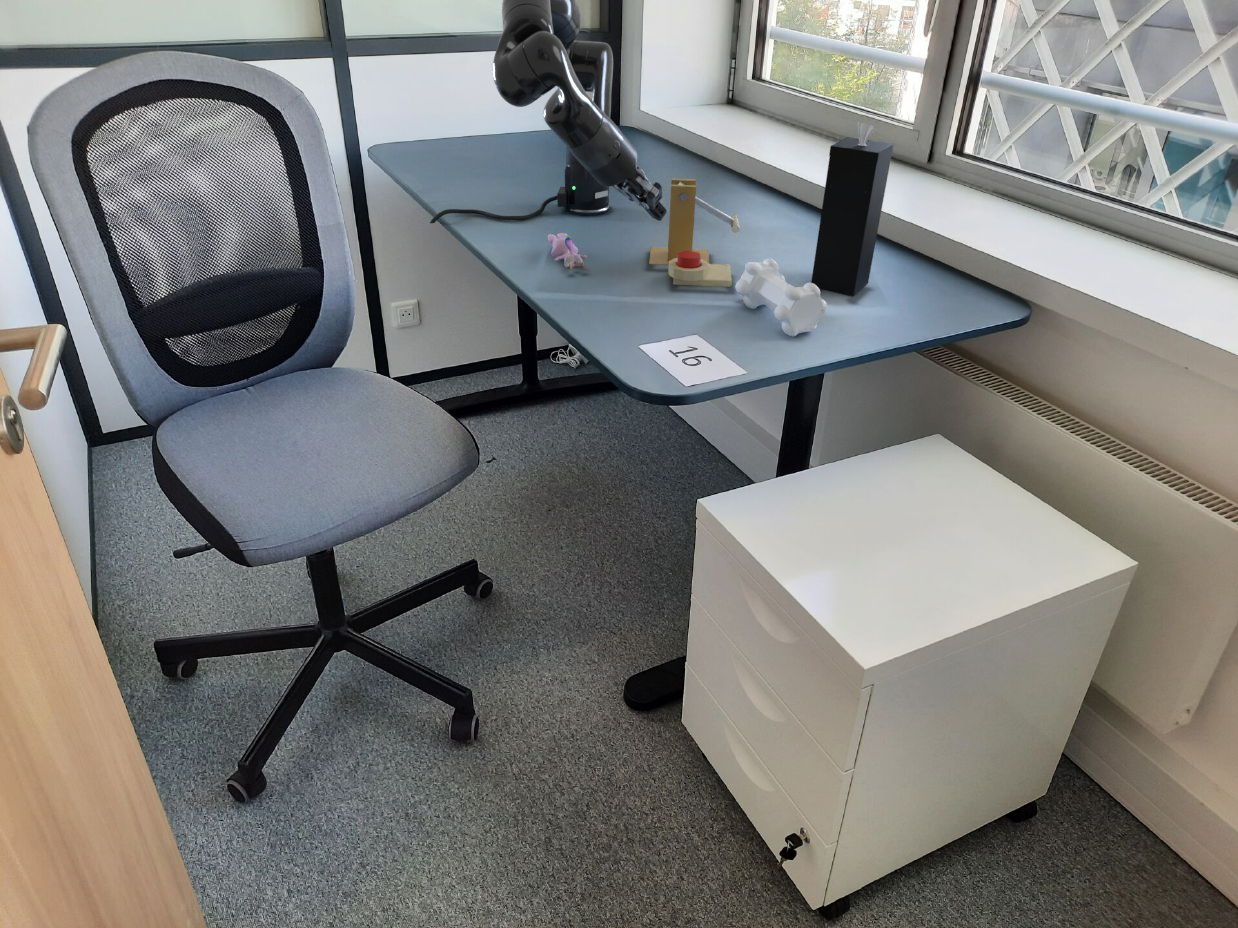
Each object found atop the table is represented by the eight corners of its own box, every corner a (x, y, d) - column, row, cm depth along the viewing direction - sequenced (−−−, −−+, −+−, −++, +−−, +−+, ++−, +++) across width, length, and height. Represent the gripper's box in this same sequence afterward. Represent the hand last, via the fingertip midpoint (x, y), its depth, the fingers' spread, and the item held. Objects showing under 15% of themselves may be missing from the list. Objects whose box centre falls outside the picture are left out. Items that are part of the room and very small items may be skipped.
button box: (667, 292, 152) (668, 270, 150) (668, 273, 159) (669, 252, 157) (730, 294, 151) (733, 272, 149) (728, 276, 159) (730, 254, 157)
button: (677, 269, 151) (677, 258, 150) (677, 261, 154) (677, 250, 153) (700, 270, 151) (701, 259, 150) (699, 262, 154) (700, 251, 153)
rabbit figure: (594, 280, 160) (569, 241, 170) (596, 250, 156) (570, 212, 166) (561, 283, 158) (538, 244, 168) (562, 253, 154) (538, 215, 164)
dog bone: (826, 333, 139) (834, 284, 134) (780, 342, 136) (786, 292, 131) (774, 299, 150) (779, 253, 146) (730, 307, 147) (734, 260, 143)
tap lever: (733, 226, 163) (740, 215, 162) (735, 236, 158) (742, 225, 157) (673, 190, 160) (680, 178, 159) (672, 199, 155) (679, 187, 154)
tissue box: (852, 302, 149) (882, 131, 134) (809, 292, 153) (833, 124, 138) (867, 288, 155) (898, 122, 140) (825, 279, 159) (850, 116, 143)
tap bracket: (707, 255, 168) (713, 177, 160) (709, 272, 160) (715, 190, 152) (650, 253, 168) (653, 175, 160) (648, 270, 161) (652, 188, 153)
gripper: (561, 158, 136) (623, 223, 149) (612, 178, 127) (673, 245, 140) (590, 119, 135) (649, 187, 148) (642, 135, 127) (700, 207, 139)
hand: (660, 215), depth 144 cm, fingers closed
